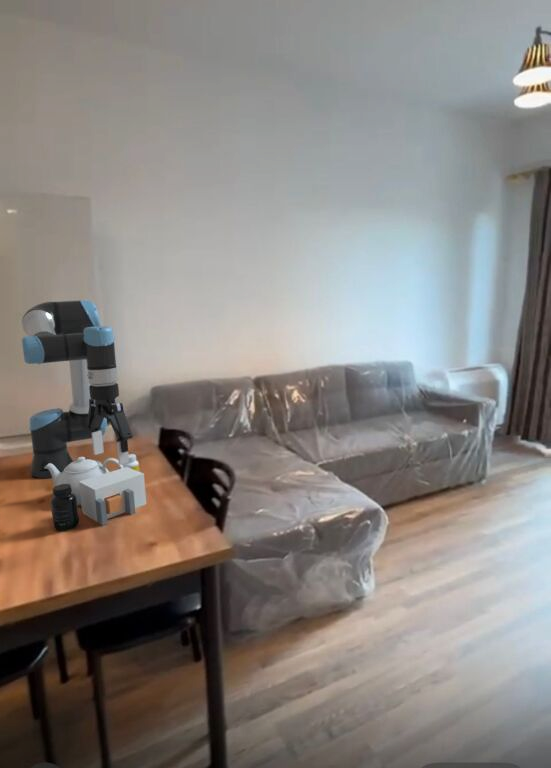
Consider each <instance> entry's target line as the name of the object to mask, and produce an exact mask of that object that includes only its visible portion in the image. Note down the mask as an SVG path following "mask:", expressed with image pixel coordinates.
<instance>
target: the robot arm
mask: <svg viewBox="0 0 551 768" xmlns="http://www.w3.org/2000/svg"><path fill="white" fill-rule="evenodd" d="M100 319H101V318H100V315H99V312H98V308H97V306H96V304H95V302H93V301H92V300H80V299H79V300H66V301H46V302H42V303H39V304H36V305H34V306H32V307H31V308H30V309H28V310H27V311H26V312H25V313H24V315H23V317H22V319H21V320H22V321H21V323H22V329H23V331H24V332H25V333H26V335H27V336H24V337H23V338H22V339H21V344H22V345H21V346H22V351H23V352H22V353H23V360H24V362H25V363H26V364H30V365H31V364H32V365H33V364H34V365H35V364H38V365H41V364H48V363H57V362H68V363H69V364H68V365H69V374H70V375H69V376H70V382H71V383H70V384H71V396H72V403H70V405H69V407H68V410H69V411H64V410H63V408H59V407H58V408H57V407H56V408H50V409H47V410H46V409H45V410H42V411H39V412H37V413H35V414H32V415H31V416H30V418H29V431H30V434H31V435H30V437H31V444H32V452H33V455H32V459H31V463H30V464H31V465H30V469H29V471H30V476H31V475H32V476H34V477H33V478H35V477H37V478H36V479H50V478H52V475H51V473H50V471H49V470H48V469H45V468H44V467H45V466H46V465H48V464H49V463H51V464H53V465H54V466H55V467H56V468H57V469H58V471H59V472H61V473H62V472H63V471H64V469H65V468H66V467H67V466H68V465H69V464H70V463H72V462H74V460H73V458H72V456H71V454H70V452H69V451H68V444H67V443H70V442H71V443H72V442H77V441H79V442H80V441H86V440H90V439H91V442H92V450H93V452H92V453H93V455H94V456H96V455H100V454H104V442H103V441H104V440H103V436H104V435H105V433H106V432H107V427H108V426H107V424H108V422H109V423H110V426H111V427H112V430H113V432H114V434H115V435H116V438H117V439H116V441H115V442H116V448H117V449H116V450H117V458H118V459H117V460H118V461H119V464H120V465H121V464H122V465H123V464H124V463H128V462H129V446H128V445H129V444H128V443H129V442H128V440H129V439H132V438H133V435H132V431H131V427H130V425H129V422H128V419H127V417H126V414H125V411H124V405H123V402H118V403H117V402H116V398H118V397H119V396H120V389H119V384H118V380H119V379H118V369H117V360H116V348H115V336H114V331H113V328H112V327H111V326H109V325H107V326H105V325H104V326H103V325H102V323H101V320H100ZM32 476H31V477H32Z"/></svg>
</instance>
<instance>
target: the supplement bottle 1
mask: <svg viewBox="0 0 551 768" xmlns="http://www.w3.org/2000/svg"><path fill="white" fill-rule="evenodd" d="M71 492H72V489H71V485H70V484H60V485H57V486H55V485H54V486H53V488H52V495H53V496H52V497H51V499H50V501H49V502H50V503H49V504H50V509H51V515H52V516H51V517H52V522H53V529H54V530H56V531H58V532H67V531H70V530H71V531H72V530H74V529H75V528H77V527H78V526H79V525H80V515H79V506H77V498H76V495H75V494H74V493H71Z"/></svg>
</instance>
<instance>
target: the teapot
mask: <svg viewBox="0 0 551 768" xmlns="http://www.w3.org/2000/svg"><path fill="white" fill-rule="evenodd" d="M109 462H113V463H115V464H116V465H117V466H118V468H119V469H122V468H123V464H121V465H120V464H119V461H118V459H116V458H115V457H114V458H113V457H109V458H107V459H105V460H104V461H103V462H100V461H98V460H94V459H88V458H87V459H86V457H85V456H79V457H77V458H76V460H75V461H74V460H73V462H72V463H70V464H69V465H68V466H67V467H66V468H65V469H64V471H63V472H62V473H61V472H59V471H58V469H57V468H56V467H55V466H54V465H53V464H51V463H49V464H48V465H46V466H45V467H44V468H45V469H48V470H49V471H50V473H51V475H52V477H51V478H52V481H53V484H54V487H55V486H57V485H60V484H70V485H71V489H72V492H71V493H74V494H75V495H76V498H77V506H78V507H82V505H81V496H80V487H79V482H80V481H83V480H86V479H89V478H93V477H96V476H99V475H102V474H106V473H109V472H110V471H109V470H108V468H107V467H106V466H107V463H109Z"/></svg>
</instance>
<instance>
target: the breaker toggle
mask: <svg viewBox="0 0 551 768" xmlns="http://www.w3.org/2000/svg"><path fill="white" fill-rule="evenodd" d="M104 501H105V504H106V512H108V513H109V514H112V513H115V512H117V511H120V510H123V506H122V497H121V496H119V495H117V494H116V495H113V496H110V497H107V498H104Z"/></svg>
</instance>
